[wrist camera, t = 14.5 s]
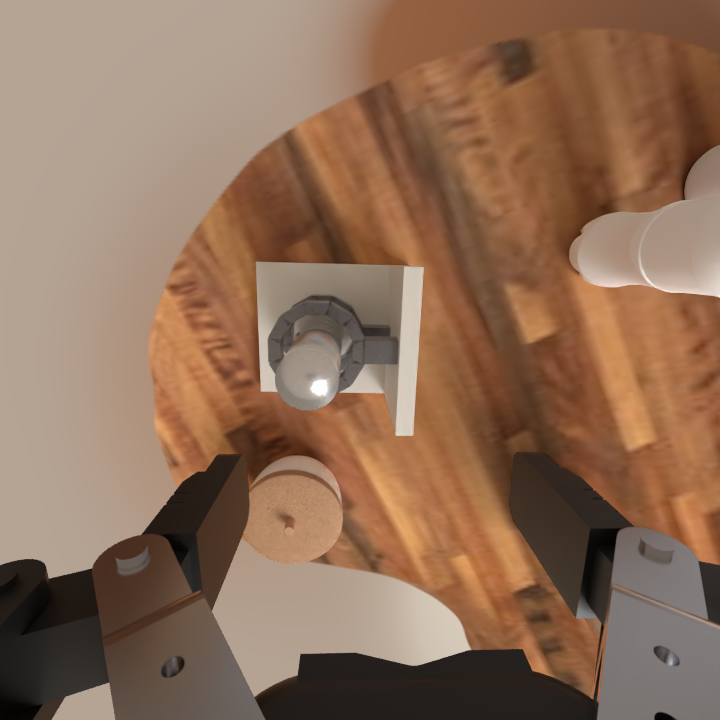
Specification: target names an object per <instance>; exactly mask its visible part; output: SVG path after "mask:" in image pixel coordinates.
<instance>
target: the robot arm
mask: <svg viewBox="0 0 720 720" xmlns="http://www.w3.org/2000/svg"><path fill="white" fill-rule="evenodd" d="M509 505H510V512H511V515H512V518H513V521H514V522H515V524H516V525H517V527H518V529H519V530H520V532H521V533H522V535H523V536H524V538H525V540H526V541H527V543H528V544H529V546H530V547H531V549H532V550H533V552H534V554H535V555H536V557H537V558H538V560H539V561H540V563H541V564H542V566H543V568H544V569H545V571H546V572H547V574H548V575H549V577H550V579H551V580H552V582H553V583H554V585H555V586H556V588H557V589H558V591H559V593H560V594H561V596H562V597H563V599H564V600H565V602H566V604H567V605H568V607H569V608H570V610H571V611H572V613H573V614H574V616H575V618H585V620H586V621H587V622H588V624H589V625H590V627H591V628H592V630H593V631H594V633H595V634H596V636H597V637H598V639H599V640H598V647H597V654H596V662H595V669H594V676H593V684H592V691H591V698H590V697H589V696H587V695H586V694H584V693H583V692H581V691H579V690H577V689H576V688H574V687H572V686H570V685H568V684H566V683H564V682H562V681H560V680H558V679H555V678H553V677H550V676H547V675H544V674H542V673H538V672H534V671H532V669H531V667H530V665H529V662H528V660H527V658H526V656H525V654H524V651H523V649H509V650H469V651H465V652H462V653H458V654H455V655H452V656H448V657H445V658H442V659H439V660H436V661H432V662H429V663H426V664H422V665H418V666H410V665H405V664H400V663H396V662H392V661H388V660H384V659H380V658H375V657H371V656H367V655H363V654H358V653H327V654H301V656H300V663H299V671H298V675H297V676H294V677H291V678H288V679H286V680H283V681H281V682H279V683H277V684H275V685H273V686H271V687H269V688H268V689H266V690H264V691H262V692H261V693H259V694H258V695H257V696H255V697H254V696H253V694H252V692H251V690H250V688H249V686H248V684H247V682H246V680H245V678H244V676H243V674H242V672H241V669H240V667H239V665H238V664H237V661H236V659H235V657H234V655H233V653H232V651H231V649H230V647H229V645H228V643H227V641H226V639H225V637H224V635H223V633H222V631H221V629H220V627H219V625H218V623H217V621H216V619H215V617H214V615H213V613H212V609H213V607H214V604H215V601H216V599H217V597H218V594H219V592H220V589H221V587H222V584H223V582H224V579H225V577H226V574H227V572H228V569H229V567H230V565H231V562H232V560H233V557H234V555H235V552H236V550H237V547H238V545H239V542H240V540H241V537H242V535H243V532H244V530H245V527H246V525H247V522H248V517H249V508H250V501H249V487H248V474H247V461H246V457H245V455H244V454H225V455H217V456H216V457H215V459H214V460H213V462H212V463H211V465H210V466H209V467H208V469H207V470H206V472H197V473H195V474H194V475H192V476H191V477H189V478H188V479H186V480H185V481H183V482H182V483H181V485H180V486H179V487H178V489H177V490H176V491H175V492H174V495H172V496H171V498H170V499H169V500H168V502H167V504H166V505H164V506H163V508H162V509H161V510H160V512H159V513H158V514H157V515H156V517H155V518H154V519H153V521H152V522H151V523H150V524H149V526H148V527H147V528H146V530H145V531H144V532H143V533H142V535H138V536H134V537H131V538H128V539H125V540H123V541H121V542H118V543H117V544H115V545H113V546H111V547H110V548H108V549H107V550H106V551H104V552H103V553H102V554H101V555H100V556H99V557H98V558H97V560H96V561H95V563H94V565H93V568H92V569H88V570H85V571H81V572H76V573H72V574H67V575H63V576H59V577H55V578H51V579H49V578H48V573H47V569H46V566H45V564H44V563H43V562H41V561H39V560H34V559H24V560H17V561H13V562H10V563H5V564H3V565H0V720H52V718H53V716H54V715H55V713H56V711H57V709H58V708H59V706H60V705H61V703H62V701H63V699H64V698H65V697H66V696H69V695H72V694H75V693H78V692H81V691H84V690H87V689H90V688H93V687H96V686H100V685H103V684H106V683H110V689H111V695H112V702H113V708H114V714H115V720H720V565H716V564H711V563H705V562H700V561H698V559H697V557H696V556H695V554H694V553H693V552H692V551H691V550H690V549H689V548H688V547H686V546H685V545H684V544H682V543H681V542H679V541H677V540H676V539H674V538H672V537H670V536H668V535H665V534H663V533H660V532H657V531H654V530H651V529H646V528H640V527H634V526H633V525H632V524H631V523H630V522H629V521H628V520H627V519H626V518H624V517H623V516H622V515H621V514H620V513H619V512H618V511H617V510H616V509H615V508H614V507H612V506H611V505H610V504H609V503H608V502H607V501H606V500H603V497H602V496H600V495H599V494H598V493H597V492H596V491H593V488H592V487H591V486H590V485H588V484H587V483H586V482H585V481H584V480H583V479H582V478H581V477H579V476H577V475H575V474H573V473H571V472H570V471H568V470H566V469H564V468H560V467H559V466H558V465H557V464H556V463H555V462H554V461H553V460H552V459H551V458H550V457H549V456H548V455H547V454H546V453H544V452H517V453H516V454H515V456H514V459H513V467H512V477H511V487H510V497H509Z"/></svg>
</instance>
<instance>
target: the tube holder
mask: <svg viewBox="0 0 720 720" xmlns="http://www.w3.org/2000/svg"><path fill="white" fill-rule="evenodd" d="M423 271H424V267H416V266H406V265H367V264H327V263H288V262H256V281H257V306H258V331H259V356H260V381H261V391H264V392H278V391H277V389H276V385H275V373H274V371H273V370H272V368H271V367H270V365H269V363H270V362H268V338H269V337H268V336H269V334H270V333H271V331H272V329H273V327H274V325H275V324H276V322H277V320H278V318H279V317H280V316H281V315H282V314H283V313H284V312H286V311H287V310H289V309H290V308H291V307H292V306H293V305H294V304H296V303H297V302H299V301H301V300H303V299H304V298H306V297H308V296H310V295H313V294H333V296H334V295H336V296H337V297H339V298H341V299H342V300H344V301H346V302H347V303H349V304H350V305H351V306H353V308H354V310H355V312H356V314H357V315H358V317H359V319H360V321H361V323H362V324H372V325H389V327H390V337H396V338H397V339H398V341H399V345H398V365H392V364H364V367H363V368H362V370H361V372H360V373H359V375H358V376H357V378H356V379H355V381H354V383H353V384H352V385H351V386H350V387H348V388H346V389H345V390H343V391H341V392H339V393H384V395H385V398H386V402H387V406H388V410H389V413H390V417H391V421H392V425H393V428H394V432H395V436H413V429H414V413H415V397H416V381H417V365H418V350H419V334H420V318H421V302H422V286H423ZM312 316H314V315H306V316H304V317H302V318H301V319H299V320H297V321H296V322H295V324H294V341H295V335H296V334H297V332H301V331H302V330H303V328H304V327H305V325H306V324H307V322H308V321H309V319H310V318H311V317H312ZM342 326H343V325H342ZM351 342H352V340H351V338H350V336H349V334H348V333H347V331H346V329H345V327H344V326H343V338H342V350H341V355H343V354H344V353H345V352H346V350H347V348H348V347H349V345H350V344H351ZM284 355H286V353H285V352H284ZM342 371H344V370H342ZM342 371H340V372H342Z"/></svg>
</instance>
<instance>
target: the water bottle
mask: <svg viewBox="0 0 720 720" xmlns="http://www.w3.org/2000/svg"><path fill="white" fill-rule="evenodd" d="M581 233H582V234H581V235H580V236H579V237H577V238H576V239H575V240H574V241H573V243H572V245H571V247H570V249H569V260H570V263H571V264H572V266H573V268H574V269H575V270H577V271H579V272H580V274H579V276H580V277H581V278H582V279H583V280H585V281H586V282H588V283H591V284H594V285H598V286H604V287H620V286H625V285H645V286H650V287H654V288H657V289H660V290H662V291H666V292H672V293H691V294H701V295H712V296H717V297H719V298H720V196H714V197H708V198H703V199H697V200H682V201H678V202H674V203H672V204H669V205H666V206H664V207H662V208H660V209H658V210H656V211H652V212H645V213H630V212H616V213H611V214H606V215H603V216H600V217H598V218H596V219H594V220H592V221H590V222H589V223H587V224H586V225H585V226H584V227H583V228H582V230H581Z"/></svg>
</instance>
